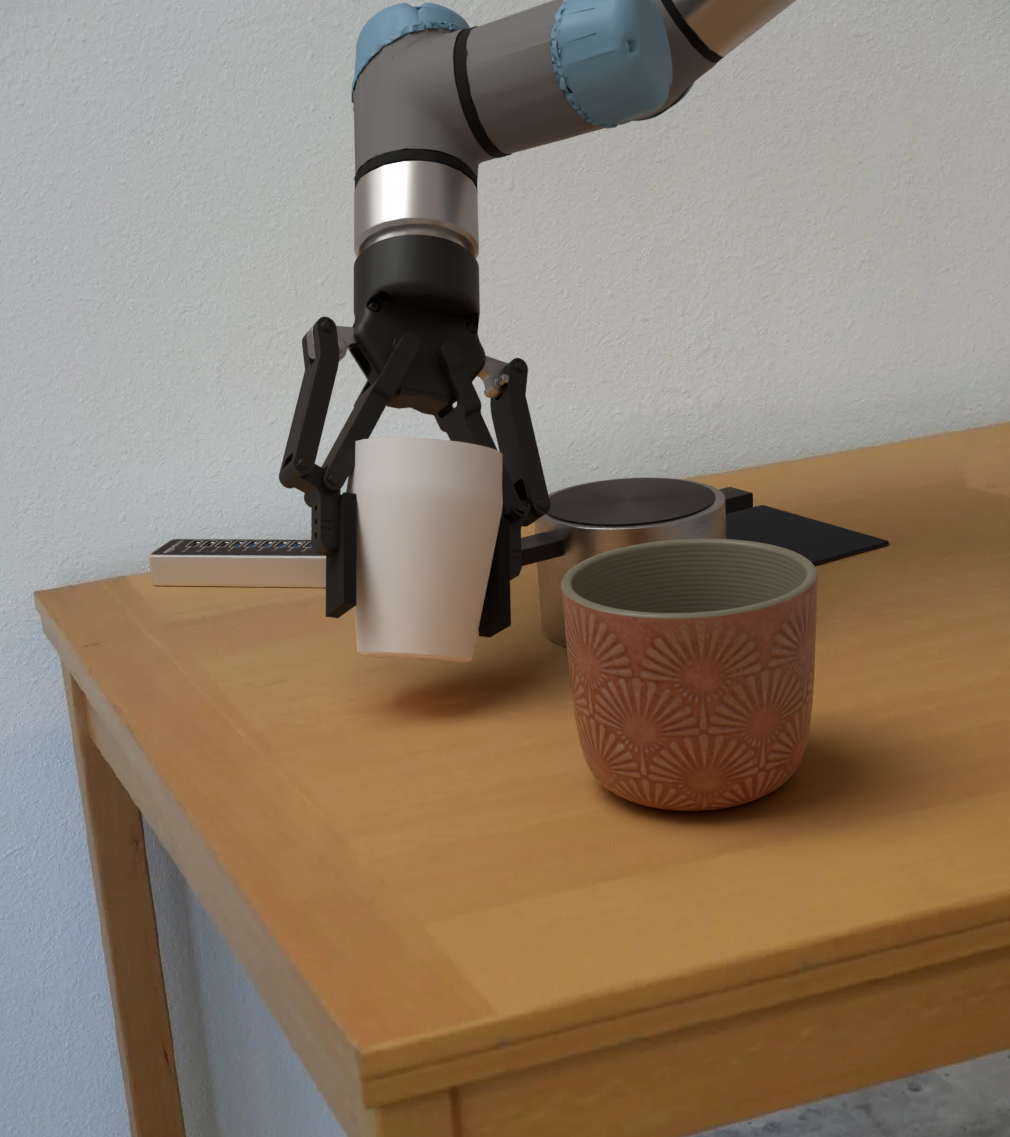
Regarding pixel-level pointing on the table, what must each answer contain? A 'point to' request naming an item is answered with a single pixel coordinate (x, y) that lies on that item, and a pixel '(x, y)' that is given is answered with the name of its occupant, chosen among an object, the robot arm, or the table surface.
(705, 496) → the steel pot
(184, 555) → the multiport hub
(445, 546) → the cup
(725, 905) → the table surface
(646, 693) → the planter
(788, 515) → the mat
